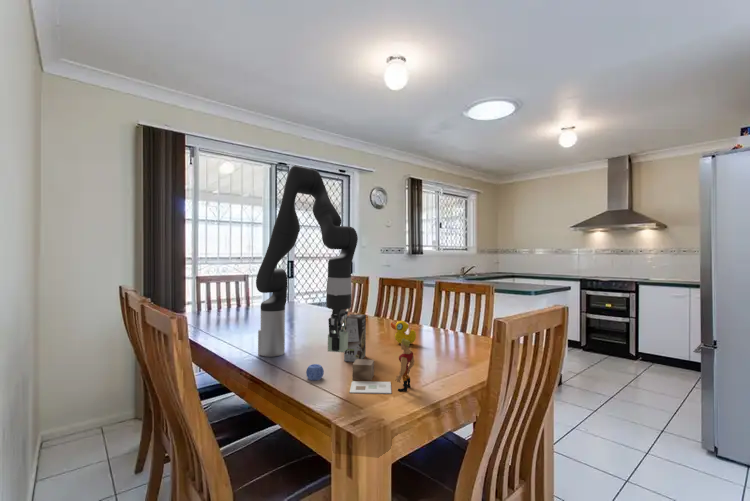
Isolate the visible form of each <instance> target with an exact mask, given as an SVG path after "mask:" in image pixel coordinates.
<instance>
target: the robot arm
mask: <svg viewBox="0 0 750 501" xmlns="http://www.w3.org/2000/svg"><path fill="white" fill-rule="evenodd" d="M285 179H286V180H285V184H284V188H283V193H282V197H281V198H282V200H281V201H280V202H281V203H280V206H279V210H278V214H277V217H276V220H275V222H274V224H273V228H272V231H271V235H270V239H269V243H268V246H267V248H266V252H265V255H264V257H263V260H262V262H261V265H260V267H259V269H258V271H257V274H256V279H255V287H256V289H257V291H258V292H259V293H263V294H268V293H271V296H270V297H269V298H267V299H266V300H263V301H262V302H261V303H260V329H258V332H257V334H258V335H257V337H258V338H257V339H258V340H257V344H258V345H257V355H258V356H262V357H278V356H282V355H284V354H286V353H285V350H286V347H285V345H286V342H285V341H286V340H285V339H286V337H285V336H286V304H287V295H288V275H287V272H286V270H285V269H283V268H276V267H277V265H278V264H279V262H280V261H281V260H282V259H283V258H284V257H285V256H286V255H287V254H288V253H289V252H290V251H291V250H292V249H293V248H294V247H295V245H296V243H297V239H298V237H299V233H300V230H301V225H300V221H299V217H298V215H297V210H296V198H297V195H298V194H303V195H309V196H311V197H312V198H313V199H314V201H313V205H312V214H313V216H314V218H315V220H316V221H317V223H318V225H319V228H320V232H321V239H322V240H321V241H322V244H323V245H324V246H325V247H326V248H327V249H330V250H340V253H339V254H338V255H337V256H334V257H331V258H329V259H328V261H327V262H328V263H327V281H326V296H325V298H326V304H325V306H326V308H327V309H330V310H331V312H332V313H331V314H330V317H329V318H328V334H329V337H331V338H332V351H339V346H340V331H341V332H345V330H346V329H347V316H348V313H349V312H348V311H347V310H348V309H350V308H352V289H353V288H352V263H353V259H354V255H355V252H356V249H357V246H358V240H359V239H358V238H359V237H358V232H357V231H356V229H355V228H354V227H352V226H348V225H344V226H343V225H342V218H341V216H340V214H339V212H338V211H337V209H336V208H335V206H334V204H333V203H332V201H331V199H330V196H329V193H328V191H327V189H326V185H325V183H324V180H323V178H322V175H321V174H320V172H319V171H318V170H316V169H314V168H310V167H306V166H301V165H292V166H291V167H290V169H289V171H288V173H287V176H286V178H285ZM334 331H336V333H334Z"/></svg>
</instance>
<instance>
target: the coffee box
mask: <svg viewBox="0 0 750 501" xmlns="http://www.w3.org/2000/svg"><path fill="white" fill-rule="evenodd" d="M366 318H367V315H366V314H358V313H357V314H351V313H350V314H349V315H347V329H346V330H345V332H348V348H347V350H346V351H345V352H344V354H343V361H344V362H351V363H352V362H353V363H354V362H355V360H356V359H364V358H365V357H366V348H367V347H366V343H367V342H366V340H367V338H366V337H367V336H366V335H367V333H366V329H367V328H366V327H367V325H366V324H367V323H366V322H367V319H366Z"/></svg>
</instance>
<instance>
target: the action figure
mask: <svg viewBox="0 0 750 501" xmlns="http://www.w3.org/2000/svg"><path fill="white" fill-rule="evenodd" d="M410 344H411V343H410V341H408V340H406V339H405V338H404V339H402V343H401V344H400V348H401V350H403V352H402V353H401V354H400V355H399V356H398V361H399V362H400V371H399V374H397V375H396V379H395V381H396V383H400V384H401V383H402V382H403V384H402V386H403V387H402V388H398V389H397V391H398V392H407V391H408V389H410V388H411V377H410V372H411V369H412V368H413V366H414V365H415V357H414V351H412V350H411V349H410V348H409V347H410ZM401 381H402V382H401Z"/></svg>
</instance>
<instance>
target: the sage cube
mask: <svg viewBox="0 0 750 501" xmlns="http://www.w3.org/2000/svg"><path fill="white" fill-rule="evenodd" d="M334 333H336V331H335V330H334ZM347 348H348V332H341V331H340V346H339V351H332V338H331V337H329V333H328V334H327V352H332V353H333V352H334V353H344V352H345V351H346V350H347Z"/></svg>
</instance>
